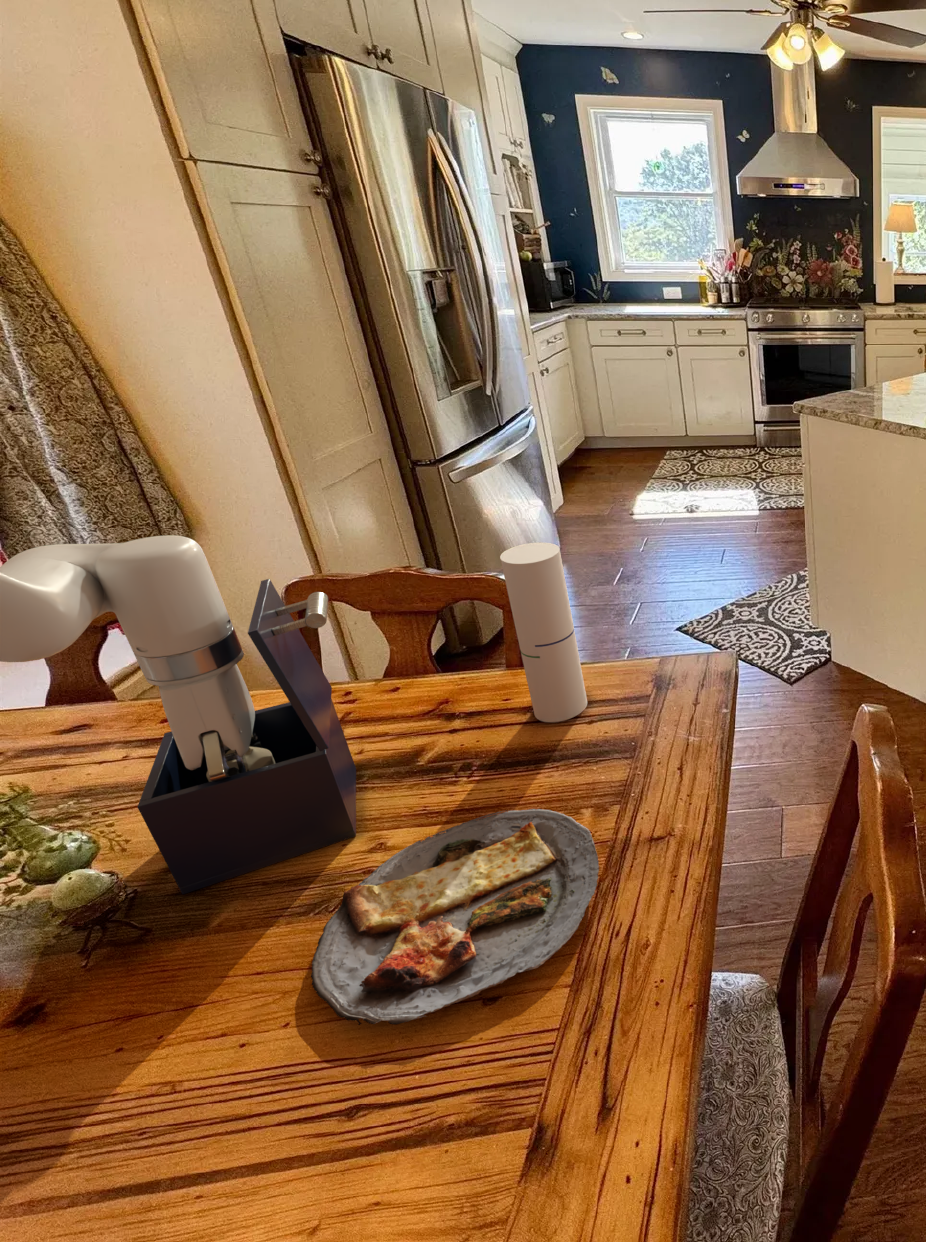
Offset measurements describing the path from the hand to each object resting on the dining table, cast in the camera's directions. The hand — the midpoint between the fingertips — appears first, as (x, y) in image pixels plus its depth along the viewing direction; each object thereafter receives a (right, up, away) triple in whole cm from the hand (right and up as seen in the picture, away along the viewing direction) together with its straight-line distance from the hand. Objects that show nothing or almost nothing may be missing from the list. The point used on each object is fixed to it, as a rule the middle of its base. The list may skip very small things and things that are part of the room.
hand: (249, 789), depth 83 cm
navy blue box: (+1, -5, +3) cm, 6 cm away
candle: (0, -5, +2) cm, 5 cm away
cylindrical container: (+23, +4, +25) cm, 34 cm away
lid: (+6, +14, -2) cm, 16 cm away
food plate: (+29, -11, -7) cm, 32 cm away
